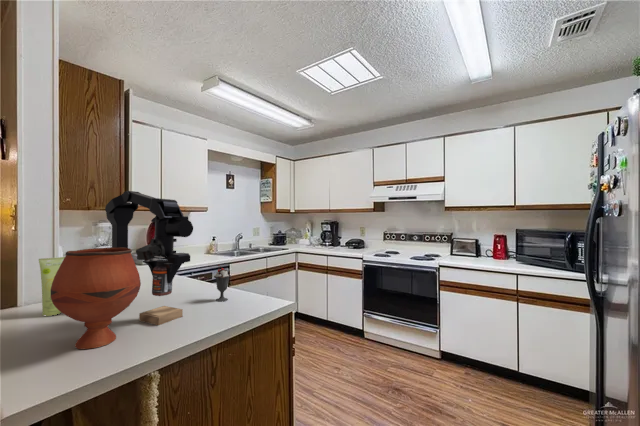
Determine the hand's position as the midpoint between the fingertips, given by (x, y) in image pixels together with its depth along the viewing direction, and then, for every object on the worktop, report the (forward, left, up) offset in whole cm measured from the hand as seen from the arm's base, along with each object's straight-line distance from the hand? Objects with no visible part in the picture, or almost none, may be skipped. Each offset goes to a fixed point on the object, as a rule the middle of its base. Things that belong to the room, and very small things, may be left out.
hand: (162, 282), depth 94 cm
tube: (-36, -13, -12) cm, 41 cm away
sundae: (+3, +26, -12) cm, 29 cm away
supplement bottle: (0, 0, -4) cm, 4 cm away
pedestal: (0, 0, -12) cm, 12 cm away
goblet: (0, -20, -12) cm, 23 cm away
